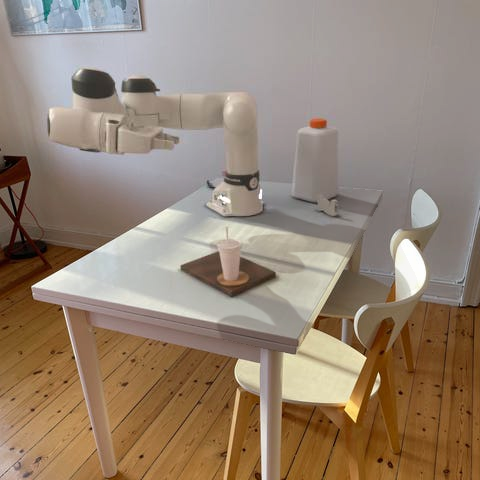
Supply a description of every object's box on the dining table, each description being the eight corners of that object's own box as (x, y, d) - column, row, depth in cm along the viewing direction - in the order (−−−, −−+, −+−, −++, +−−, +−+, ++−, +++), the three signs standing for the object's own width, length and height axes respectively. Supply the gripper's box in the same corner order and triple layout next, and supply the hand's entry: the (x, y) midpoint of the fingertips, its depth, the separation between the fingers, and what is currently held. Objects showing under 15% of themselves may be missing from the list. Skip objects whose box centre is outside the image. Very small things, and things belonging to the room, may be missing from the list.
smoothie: (218, 273, 134) (215, 223, 126) (242, 271, 134) (240, 222, 127) (219, 284, 128) (216, 232, 121) (244, 282, 128) (242, 231, 121)
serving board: (180, 270, 140) (180, 263, 139) (224, 253, 149) (223, 247, 148) (231, 296, 126) (230, 290, 125) (275, 277, 135) (275, 270, 134)
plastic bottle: (341, 195, 193) (347, 118, 179) (319, 205, 184) (323, 125, 170) (310, 188, 202) (313, 114, 188) (287, 197, 193) (288, 120, 178)
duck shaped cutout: (320, 210, 180) (339, 217, 172) (317, 211, 179) (336, 218, 172) (320, 194, 177) (340, 201, 170) (318, 195, 176) (337, 202, 169)
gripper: (126, 142, 126) (180, 150, 127) (105, 154, 108) (169, 164, 109) (127, 116, 124) (183, 124, 124) (106, 124, 105) (171, 133, 106)
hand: (176, 143), depth 116 cm, fingers open, 8 cm apart
